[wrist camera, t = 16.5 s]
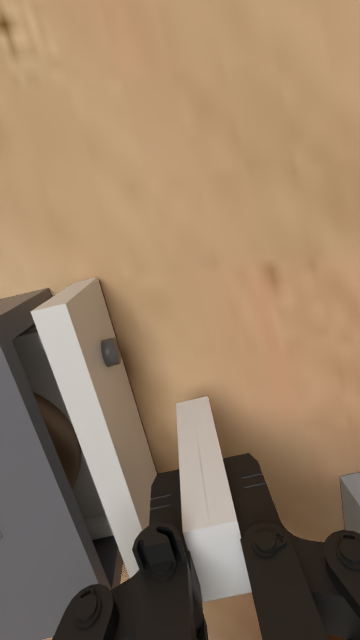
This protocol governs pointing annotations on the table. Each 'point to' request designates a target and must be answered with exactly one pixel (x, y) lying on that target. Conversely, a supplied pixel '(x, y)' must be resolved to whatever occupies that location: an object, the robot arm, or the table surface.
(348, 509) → the block
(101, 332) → the tray
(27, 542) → the housing
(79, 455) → the coaster
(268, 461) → the table surface
